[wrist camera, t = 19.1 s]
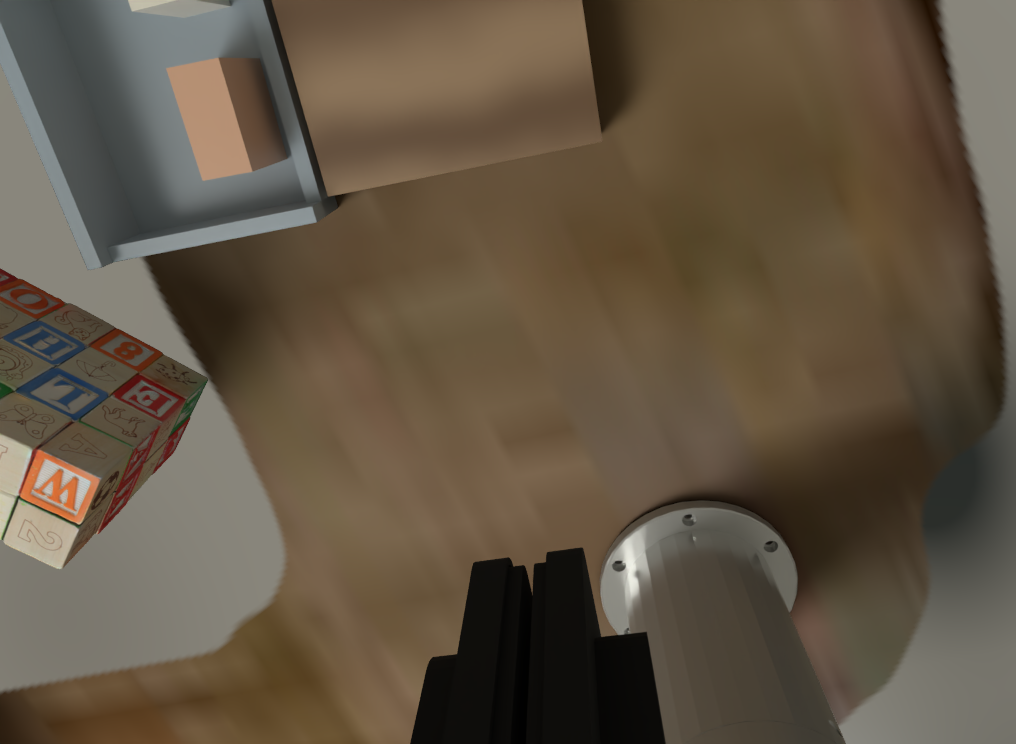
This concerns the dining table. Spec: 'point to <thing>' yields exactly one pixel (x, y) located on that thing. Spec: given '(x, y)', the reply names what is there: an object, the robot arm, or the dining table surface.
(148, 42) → the tray
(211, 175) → the peach block
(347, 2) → the walnut board
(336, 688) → the dining table surface
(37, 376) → the stack of blocks
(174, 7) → the cream tile
